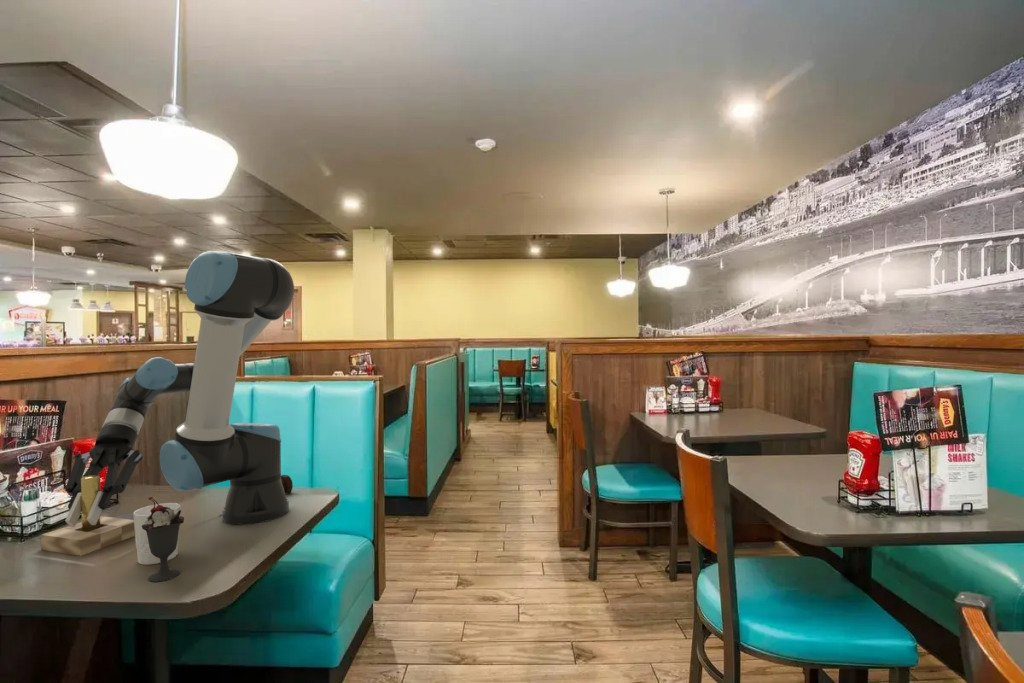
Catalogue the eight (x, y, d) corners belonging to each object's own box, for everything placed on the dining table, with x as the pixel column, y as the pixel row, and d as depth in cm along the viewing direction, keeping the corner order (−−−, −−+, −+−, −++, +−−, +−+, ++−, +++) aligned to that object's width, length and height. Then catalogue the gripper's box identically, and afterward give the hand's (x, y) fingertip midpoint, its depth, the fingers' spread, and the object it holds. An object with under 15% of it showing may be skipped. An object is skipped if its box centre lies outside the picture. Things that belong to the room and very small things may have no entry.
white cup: (181, 560, 104) (180, 510, 104) (132, 570, 100) (131, 518, 100) (181, 547, 110) (180, 500, 110) (135, 556, 106) (135, 507, 106)
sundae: (136, 578, 96) (134, 497, 96) (176, 565, 101) (175, 488, 101) (149, 588, 92) (147, 503, 92) (190, 574, 97) (189, 494, 97)
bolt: (235, 512, 139) (287, 496, 152) (243, 505, 137) (295, 489, 149) (228, 492, 141) (280, 477, 153) (236, 485, 138) (288, 471, 150)
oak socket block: (138, 536, 117) (138, 520, 117) (81, 557, 106) (80, 540, 106) (101, 531, 121) (100, 516, 121) (41, 551, 110) (40, 534, 110)
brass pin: (104, 529, 115) (103, 475, 115) (88, 534, 112) (87, 479, 111) (94, 528, 116) (93, 474, 116) (78, 533, 112) (77, 478, 112)
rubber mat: (154, 518, 129) (154, 516, 129) (122, 529, 122) (122, 528, 122) (125, 515, 132) (125, 513, 132) (91, 525, 125) (91, 524, 125)
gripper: (162, 438, 130) (130, 527, 114) (88, 442, 127) (44, 534, 111) (152, 420, 125) (117, 511, 109) (74, 424, 122) (26, 518, 105)
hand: (80, 522), depth 110 cm, fingers closed on brass pin, 3 cm apart
